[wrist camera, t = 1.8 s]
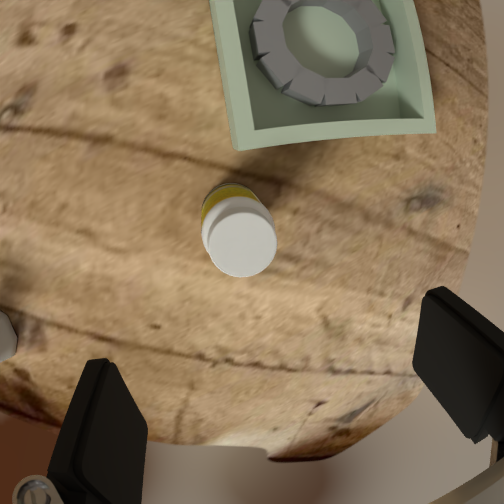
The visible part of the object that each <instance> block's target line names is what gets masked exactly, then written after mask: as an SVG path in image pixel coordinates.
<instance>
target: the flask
mask: <svg viewBox="0 0 504 504" xmlns="http://www.w3.org/2000/svg"><path fill="white" fill-rule="evenodd" d="M16 345H17V336H16V334H15V332H14V330H13V327H12V325H11V323H10V321H9V318H8V316H7V315H6V314H4V313H3V312H1V311H0V362H2V361H4V360H6V359H8V358H10V357H12V356H14V355H15V353H16Z"/></svg>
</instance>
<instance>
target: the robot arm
mask: <svg viewBox="0 0 504 504" xmlns="http://www.w3.org/2000/svg"><path fill="white" fill-rule="evenodd" d="M412 364H413V368H414V371H415V372H416V373H417V375H418V376H419V377H420V378H421V380H422V381H423V382H424V383H425V385H426V386H427V387H428V389H429V390H430V391H431V392H432V394H433V395H434V396H435V397H436V399H437V400H438V401H439V403H440V404H441V405H442V407H443V408H444V409H445V410H446V411H447V413H448V414H449V416H450V417H451V418H452V420H453V421H454V422H455V424H456V425H457V426H458V428H459V429H460V430H461V432H462V433H463V434H464V436H465V437H466V438H469V439H470V438H471V440H472V441H473V442H474V444H476V443H478V442H480V441H481V440H483V439H484V438H486V437H487V436H488V434H490V436H491V437H492V448H491V458H490V467H489V468H488V469H486V470H485V471H483V472H482V473H480V474H479V475H477V476H476V477H474V478H473V479H471V480H469V481H468V482H466V483H465V484H463V485H461V486H460V487H458V488H456V489H455V490H453V491H451V492H449V493H447V494H446V495H444V496H442V497H440V498H439V499H437V500H435V501H433V502H431V503H429V504H504V332H503V331H501V330H500V329H499V328H498V327H496V326H495V325H494V324H493V323H492V322H490V321H489V320H488V319H487V318H485V317H484V316H483V315H481V314H480V313H479V312H478V311H476V310H475V309H474V308H473V307H471V306H470V305H469V304H467V303H466V302H465V301H463V300H462V299H461V298H460V297H458V296H457V295H456V294H454V293H453V292H452V291H450V290H449V289H448V288H446V287H444V286H440V287H437V288H434V289H431V290H428V291H427V292H426V294H425V296H424V297H423V299H422V304H421V312H420V319H419V326H418V332H417V338H416V344H415V350H414V355H413V361H412ZM147 435H148V428H147V423H146V421H145V419H144V417H143V416H142V414H141V412H140V410H139V409H138V407H137V405H136V403H135V401H134V399H133V398H132V396H131V394H130V392H129V390H128V388H127V386H126V384H125V382H124V380H123V378H122V376H121V374H120V372H119V370H118V368H117V366H116V365H115V363H113V362H111V363H110V361H109V360H108V359H106V358H102V359H92V360H88V361H87V363H86V365H85V367H84V370H83V372H82V375H81V377H80V380H79V382H78V385H77V387H76V390H75V392H74V395H73V397H72V400H71V403H70V405H69V408H68V411H67V413H66V416H65V419H64V422H63V424H62V427H61V430H60V433H59V436H58V439H57V442H56V445H55V448H54V451H53V454H52V457H51V460H50V464H49V467H48V470H47V471H48V474H47V477H44V476H40V475H31V476H29V477H26V478H24V479H23V480H22V481H20V482H19V483H18V485H17V486H16V487H15V490H14V492H13V499H12V501H13V504H141V500H142V486H143V474H144V463H145V453H146V444H147Z"/></svg>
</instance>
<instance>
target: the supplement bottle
mask: <svg viewBox="0 0 504 504" xmlns="http://www.w3.org/2000/svg"><path fill="white" fill-rule="evenodd" d="M201 215H202V217H201V220H202V221H201V234H202V240H203V243H204V246H205V248H206V250H207V252H208V253H209V254H210V257H211V259H212V261H213V263H214V264H215V265H216V266H217V268H218V269H220V270H221V271H222V272H224V273H226V274H228V275H230V276H234V277H249V276H252V275H255V274H257V273H259V272H261V271H262V270H264V269H265V268H266V267H267V266H268V265H269V264H270V263H271V261H272V259H273V258H274V256H275V253H276V249H277V237H276V233H275V225H274V221H273V218H272V216H271V214H270V212H269V211H268V210H267V208H266V207H265V206H264V205H263V204H262V203H261V202H260V200H259V199H258V198H257V196H256V195H255V194H254V193H253V192H252V191H251V190H250V189H248V188H247V187H245V186H243V185H240V184H236V183H227V184H222V185H220V186H218V187H216V188H214V189H213V190H212V191H211V192H210V193H209V194H208V195H207V196H206V198H205V200H204V202H203V205H202V214H201Z"/></svg>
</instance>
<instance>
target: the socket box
mask: <svg viewBox="0 0 504 504" xmlns="http://www.w3.org/2000/svg"><path fill="white" fill-rule="evenodd" d="M209 4H210V10H211V16H212V22H213V28H214V34H215V41H216V47H217V53H218V59H219V65H220V71H221V78H222V84H223V90H224V96H225V102H226V108H227V114H228V121H229V127H230V133H231V139H232V145H233V149H235V150H238V151H243V150H250V149H256V148H263V147H269V146H277V145H284V144H292V143H300V142H308V141H317V140H327V139H337V138H348V137H361V136H376V135H394V134H421V133H436V124H435V113H434V104H433V96H432V89H431V82H430V75H429V69H428V63H427V58H426V53H425V47H424V43H423V38H422V33H421V29H420V25H419V21H418V17H417V13H416V9H415V5H414V2H413V0H209Z"/></svg>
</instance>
